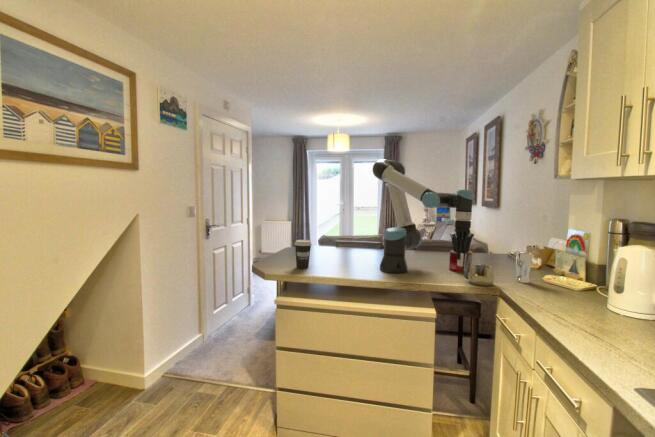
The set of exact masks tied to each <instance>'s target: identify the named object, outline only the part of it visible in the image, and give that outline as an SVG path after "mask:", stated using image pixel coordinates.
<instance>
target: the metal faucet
mask: <svg viewBox="0 0 655 437" xmlns="http://www.w3.org/2000/svg"><path fill="white" fill-rule="evenodd" d="M473 253H474V252H473V250H469V251H468V252H466V254H465V265H464V274H463V275H464V278H468V279H467V280H468V281H467V282H468V283H469V284H472V285H476V286H481V287H491V286H492V287H493V286H494V279H495V278H494V266H492V265H491V266H489V265H488V266H487V264H484V263H473V264H472V260H473Z"/></svg>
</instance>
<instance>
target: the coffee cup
mask: <svg viewBox="0 0 655 437" xmlns="http://www.w3.org/2000/svg"><path fill="white" fill-rule="evenodd" d="M311 246H312V242H311V240H309V239H296V240H295V242H294V248H295V264H296V266H295V267H296V269H299V270H305V269H306V270H307V269H309V264H310V256H311V248H312V247H311Z"/></svg>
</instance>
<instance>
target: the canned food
mask: <svg viewBox="0 0 655 437" xmlns="http://www.w3.org/2000/svg"><path fill="white" fill-rule="evenodd" d="M465 257H466V255H465V256H464V260H463V266H458V265H457V253H456V252H454V251H453V249H451V250H450V251H449V265H448V266H449V268H448V269H449V271H451V270H452V271H451V272H456V271H463V272H465Z"/></svg>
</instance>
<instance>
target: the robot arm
mask: <svg viewBox="0 0 655 437" xmlns="http://www.w3.org/2000/svg"><path fill="white" fill-rule="evenodd" d="M372 174H373V176H374V177H375V178H377V179H379V180H380V181H381V182H384V185H385V186H386V187H387V188H388V192H389V196H390V200H391V205H392V208H393V213H394V217H395V220H396V226H395V227H389V228H386V229H385V230H384V235H383V238H384V239H383V256H382V259H381V262H380V264H379V271H381V272H385V273H388V274H389V273H391V274H403V273H404V274H405V273H408V271H409V270H408V264H407V260H406V250H407V251H408V250H414V249H416V248H418V247H419V246H421V243H422V242H423V234H422V232H421V231H420V230H419V229H418V228H417V226H416V223H415V222H413V220H412V216H411V213H410V209H409V204H408V200H407V197H406V194H408V195H409V196H412V197H413V198H414V199H417V201H420V202H421V203H422V204H423V206H424V207H426V208H429V209H433V208H436V209H437V208H447V209H448V208H451V209H455V214H454V216H455V217H454V218H455V220H454V228H455V229H454V232H453V233H450V234H449V235H450V237H451V244H452V250H453V251H454V252H456V253H457V265H458V266H463V260H464V256H465V257H466V252H468V251H470V246H471V244H472V240H473V238H474V236H475V234H474V233H472V232H471V229H470V228H472V227H471V226H472V222H471V220H472V211H473V199H474V195H473V194H474V192H473V190H471V189H457V191H456V192H455V193H451V192H436V191H434V190H432V189H430V188H428V187H427V186H425V185H423V184H421V183H419V182H417V181H416V180H414V179H412V178H410V177H409V176H406V175H405V174H406V168H405V166H404V163H402V162H400V161H398V160H394V159H393V160H392V159H385V158H381V159H378V160H376V161H375V162H374V164H373V165H372Z"/></svg>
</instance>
